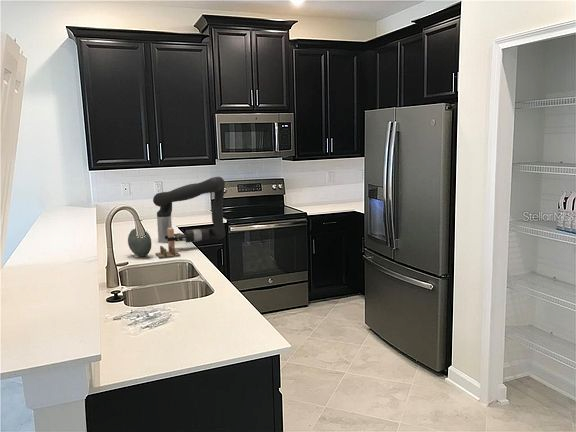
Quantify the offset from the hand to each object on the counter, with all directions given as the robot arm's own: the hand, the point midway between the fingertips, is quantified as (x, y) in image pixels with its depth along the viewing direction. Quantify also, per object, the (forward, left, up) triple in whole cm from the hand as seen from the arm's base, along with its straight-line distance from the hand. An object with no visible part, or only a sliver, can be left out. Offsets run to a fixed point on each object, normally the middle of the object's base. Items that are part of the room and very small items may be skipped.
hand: (166, 238), depth 296 cm
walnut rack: (+11, -2, -8) cm, 14 cm away
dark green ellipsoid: (+5, -17, -8) cm, 20 cm away
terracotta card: (0, +3, -8) cm, 9 cm away
